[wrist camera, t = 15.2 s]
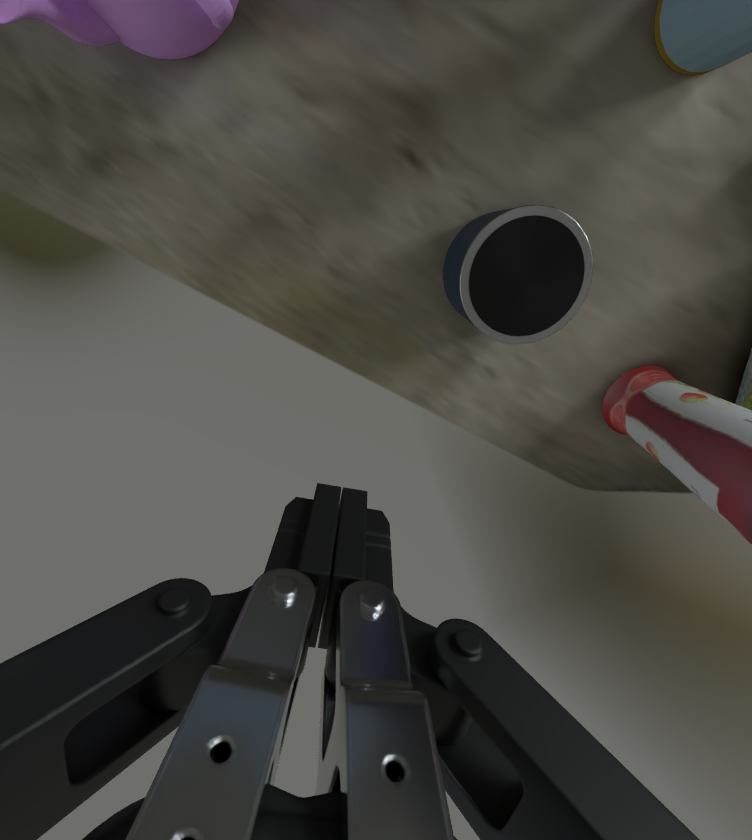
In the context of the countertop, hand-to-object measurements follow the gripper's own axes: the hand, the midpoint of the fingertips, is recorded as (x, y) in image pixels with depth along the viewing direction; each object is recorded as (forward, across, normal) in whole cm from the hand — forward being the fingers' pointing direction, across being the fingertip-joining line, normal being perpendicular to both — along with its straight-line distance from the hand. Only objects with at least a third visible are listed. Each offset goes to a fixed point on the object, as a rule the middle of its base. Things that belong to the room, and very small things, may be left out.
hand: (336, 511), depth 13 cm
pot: (+27, -10, -7) cm, 30 cm away
